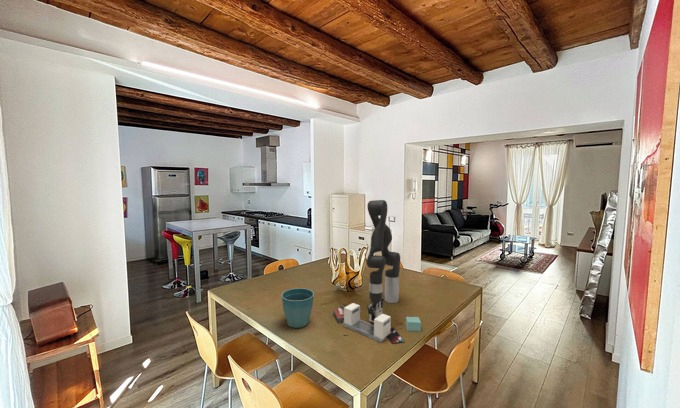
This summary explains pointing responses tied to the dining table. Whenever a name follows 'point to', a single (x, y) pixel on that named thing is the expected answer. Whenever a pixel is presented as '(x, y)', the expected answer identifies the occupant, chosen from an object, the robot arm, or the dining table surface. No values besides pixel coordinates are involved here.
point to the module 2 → (382, 326)
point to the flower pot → (297, 306)
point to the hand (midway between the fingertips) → (375, 318)
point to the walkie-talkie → (339, 314)
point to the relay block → (413, 324)
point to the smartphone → (395, 337)
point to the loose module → (378, 313)
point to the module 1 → (351, 314)
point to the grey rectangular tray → (365, 329)
